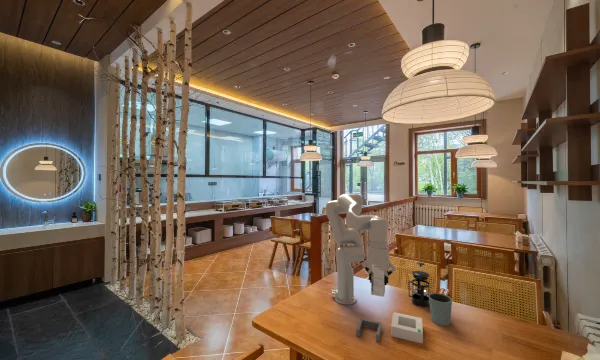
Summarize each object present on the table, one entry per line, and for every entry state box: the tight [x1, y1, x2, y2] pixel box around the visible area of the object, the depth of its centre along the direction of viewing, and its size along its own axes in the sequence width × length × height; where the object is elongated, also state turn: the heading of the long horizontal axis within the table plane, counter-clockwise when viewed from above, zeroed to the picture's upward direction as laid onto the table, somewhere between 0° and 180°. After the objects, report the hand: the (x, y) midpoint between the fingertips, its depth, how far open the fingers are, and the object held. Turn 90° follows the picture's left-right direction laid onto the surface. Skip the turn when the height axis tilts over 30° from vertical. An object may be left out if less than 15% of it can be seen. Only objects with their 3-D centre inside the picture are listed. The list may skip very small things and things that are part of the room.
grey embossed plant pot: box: [429, 292, 453, 327], centre depth 125 cm, size 10×10×12 cm
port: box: [390, 311, 424, 345], centre depth 116 cm, size 13×13×5 cm
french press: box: [407, 262, 430, 308], centre depth 143 cm, size 12×9×23 cm
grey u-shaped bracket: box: [355, 317, 383, 343], centre depth 116 cm, size 10×10×3 cm
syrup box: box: [370, 264, 386, 298], centre depth 116 cm, size 6×6×14 cm
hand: (378, 282), depth 116 cm, fingers closed on syrup box, 5 cm apart
